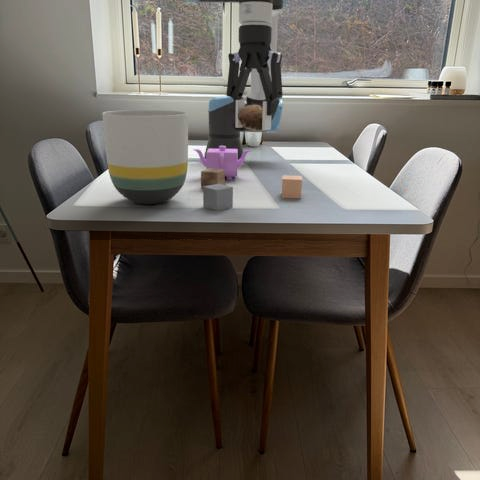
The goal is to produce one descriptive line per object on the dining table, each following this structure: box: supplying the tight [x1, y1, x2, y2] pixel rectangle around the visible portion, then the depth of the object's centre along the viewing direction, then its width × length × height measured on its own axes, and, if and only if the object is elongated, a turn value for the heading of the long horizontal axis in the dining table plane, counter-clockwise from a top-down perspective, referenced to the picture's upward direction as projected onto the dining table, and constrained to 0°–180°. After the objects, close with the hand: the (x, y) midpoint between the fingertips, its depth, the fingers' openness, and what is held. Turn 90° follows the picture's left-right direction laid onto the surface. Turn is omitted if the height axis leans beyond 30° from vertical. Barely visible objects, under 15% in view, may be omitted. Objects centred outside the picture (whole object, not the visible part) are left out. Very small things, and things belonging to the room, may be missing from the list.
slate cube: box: [202, 184, 234, 212], centre depth 110 cm, size 5×5×5 cm
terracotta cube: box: [281, 174, 303, 199], centre depth 122 cm, size 5×5×5 cm
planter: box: [101, 109, 189, 205], centre depth 111 cm, size 20×20×21 cm
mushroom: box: [238, 105, 263, 131], centre depth 112 cm, size 8×8×6 cm
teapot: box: [192, 146, 252, 181], centre depth 142 cm, size 18×13×10 cm
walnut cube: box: [200, 168, 226, 190], centre depth 129 cm, size 5×5×5 cm
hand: (252, 128), depth 112 cm, fingers closed on mushroom, 7 cm apart
